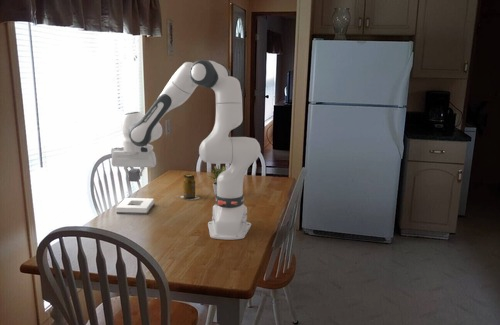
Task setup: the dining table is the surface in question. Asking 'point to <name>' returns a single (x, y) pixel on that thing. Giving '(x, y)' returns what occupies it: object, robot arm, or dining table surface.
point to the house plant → (216, 173)
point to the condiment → (189, 187)
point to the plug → (134, 175)
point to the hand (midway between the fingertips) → (134, 175)
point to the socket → (135, 206)
